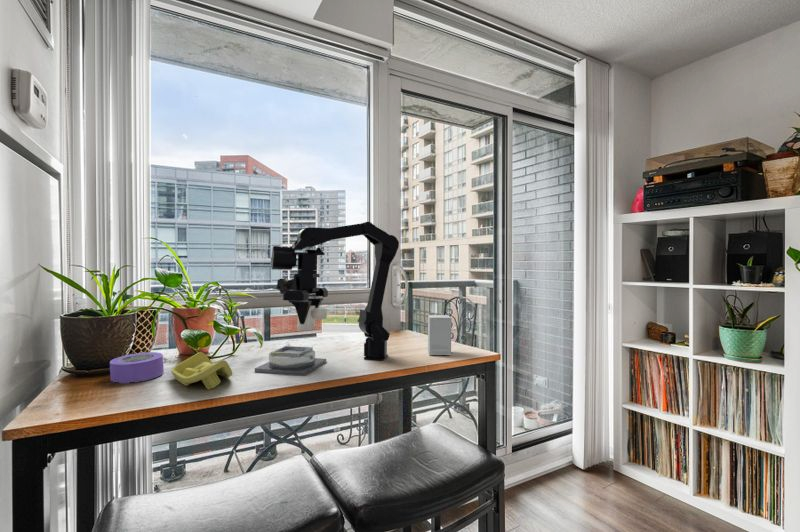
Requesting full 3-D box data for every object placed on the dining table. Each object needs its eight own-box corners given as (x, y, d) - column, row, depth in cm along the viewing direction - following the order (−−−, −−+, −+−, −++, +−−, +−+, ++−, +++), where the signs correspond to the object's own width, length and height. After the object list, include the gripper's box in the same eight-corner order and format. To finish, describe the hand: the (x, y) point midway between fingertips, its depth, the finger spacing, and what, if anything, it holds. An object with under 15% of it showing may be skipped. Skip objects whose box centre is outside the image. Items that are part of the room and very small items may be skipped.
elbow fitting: (294, 330, 118) (294, 306, 118) (301, 328, 123) (302, 304, 123) (320, 332, 116) (321, 307, 116) (327, 329, 121) (328, 306, 121)
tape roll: (100, 385, 100) (99, 365, 100) (125, 371, 112) (124, 353, 112) (151, 382, 102) (150, 362, 102) (170, 368, 114) (170, 351, 113)
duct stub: (326, 362, 124) (326, 345, 124) (305, 375, 109) (305, 356, 109) (281, 359, 127) (281, 343, 127) (254, 372, 112) (254, 354, 112)
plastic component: (168, 369, 106) (205, 348, 112) (183, 393, 107) (218, 370, 113) (187, 381, 91) (229, 355, 97) (204, 408, 92) (243, 381, 98)
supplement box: (451, 356, 133) (451, 317, 133) (428, 356, 133) (429, 317, 133) (449, 351, 140) (449, 314, 140) (427, 351, 140) (427, 314, 140)
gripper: (296, 269, 131) (295, 317, 131) (266, 269, 113) (264, 325, 113) (328, 270, 129) (327, 319, 129) (303, 270, 110) (301, 328, 110)
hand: (306, 322), depth 120 cm, fingers closed on elbow fitting, 5 cm apart
